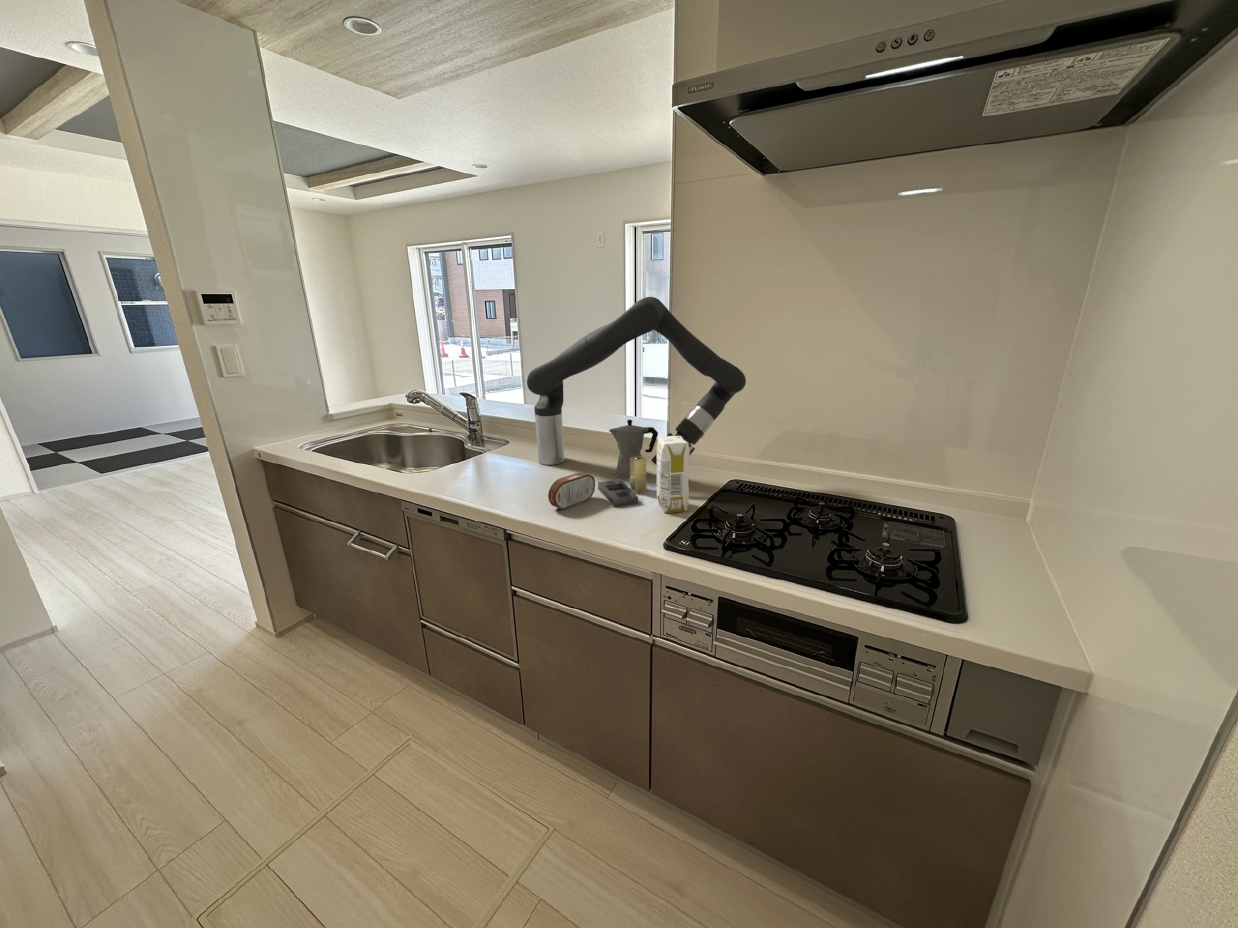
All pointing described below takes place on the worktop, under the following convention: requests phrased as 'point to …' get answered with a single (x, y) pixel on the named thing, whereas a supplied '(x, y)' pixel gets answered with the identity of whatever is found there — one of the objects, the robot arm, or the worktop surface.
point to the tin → (571, 490)
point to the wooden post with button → (638, 474)
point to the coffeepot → (631, 444)
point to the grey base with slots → (618, 493)
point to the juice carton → (673, 473)
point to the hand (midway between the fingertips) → (659, 467)
